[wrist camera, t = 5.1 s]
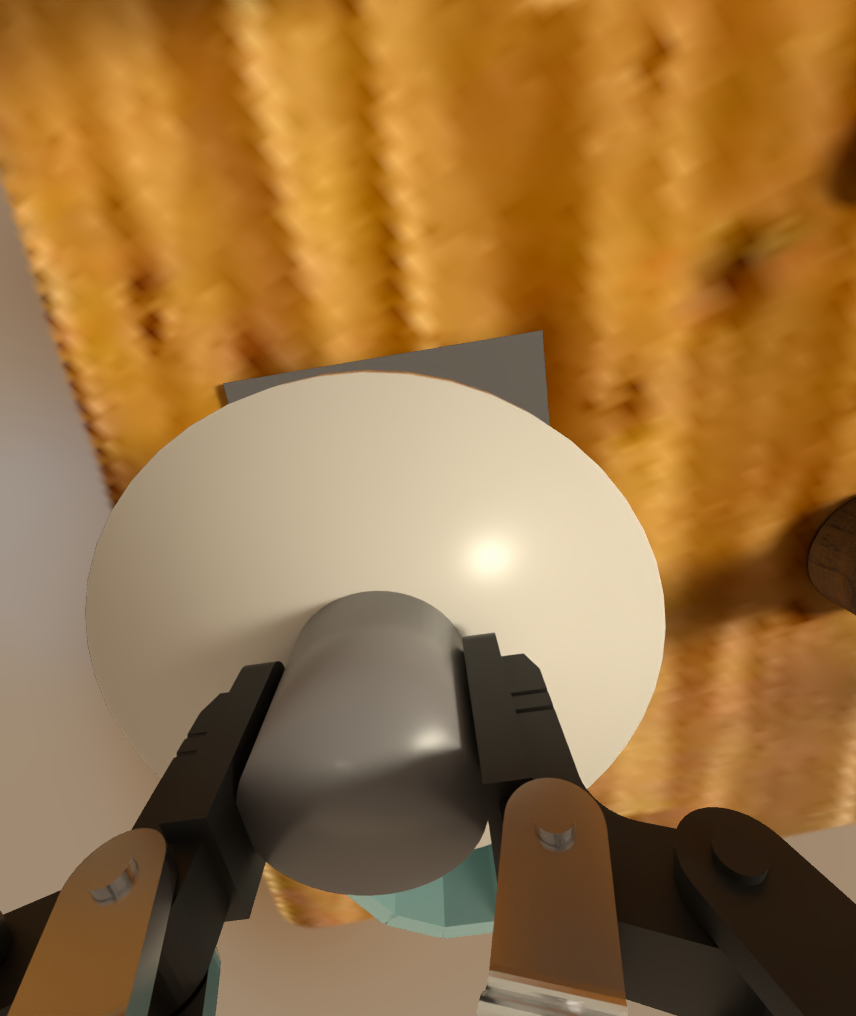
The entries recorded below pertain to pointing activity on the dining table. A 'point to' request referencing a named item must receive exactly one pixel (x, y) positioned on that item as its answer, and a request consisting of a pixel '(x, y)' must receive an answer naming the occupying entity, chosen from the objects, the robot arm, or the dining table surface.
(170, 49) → the dining table surface
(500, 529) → the lid
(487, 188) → the dining table surface
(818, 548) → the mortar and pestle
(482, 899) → the cup
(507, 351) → the mat
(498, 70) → the dining table surface
